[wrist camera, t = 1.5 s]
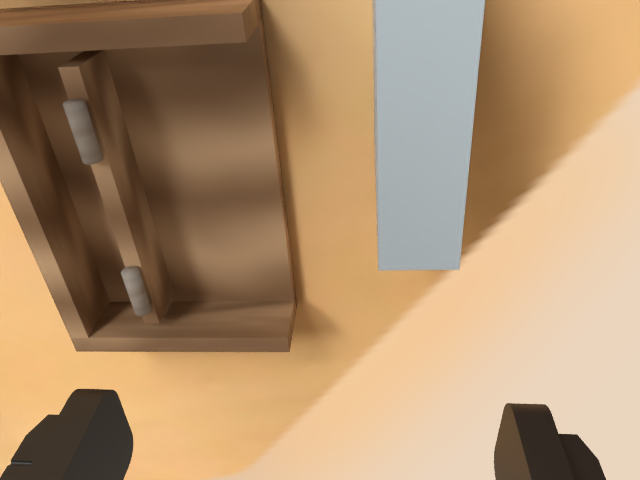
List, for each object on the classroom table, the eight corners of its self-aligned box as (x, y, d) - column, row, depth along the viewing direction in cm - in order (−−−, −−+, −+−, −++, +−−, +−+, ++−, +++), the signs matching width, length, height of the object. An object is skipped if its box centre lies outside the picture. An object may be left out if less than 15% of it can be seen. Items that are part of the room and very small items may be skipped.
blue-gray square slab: (371, -114, 24) (374, -105, 14) (440, -120, 23) (496, -115, 13) (374, 140, 30) (378, 270, 20) (428, 138, 30) (459, 269, 20)
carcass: (-10, 9, 28) (-75, 33, 24) (259, -8, 26) (239, 15, 22) (104, 305, 39) (73, 357, 35) (296, 304, 37) (288, 357, 33)
